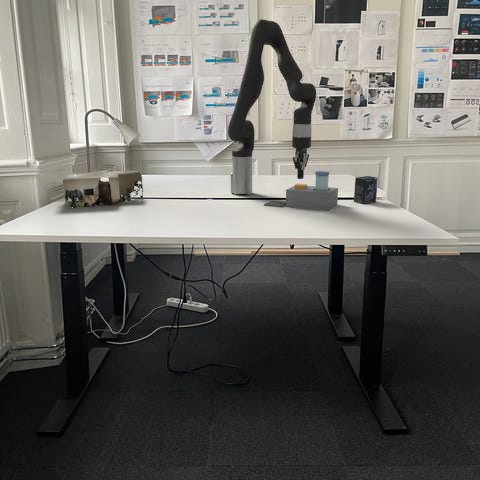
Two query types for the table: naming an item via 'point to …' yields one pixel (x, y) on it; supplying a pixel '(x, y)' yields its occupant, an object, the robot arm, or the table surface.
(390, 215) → the table surface
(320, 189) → the cartridge
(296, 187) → the orange rectangular block
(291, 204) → the housing
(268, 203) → the mat
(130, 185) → the beige boxy piece
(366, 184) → the box
